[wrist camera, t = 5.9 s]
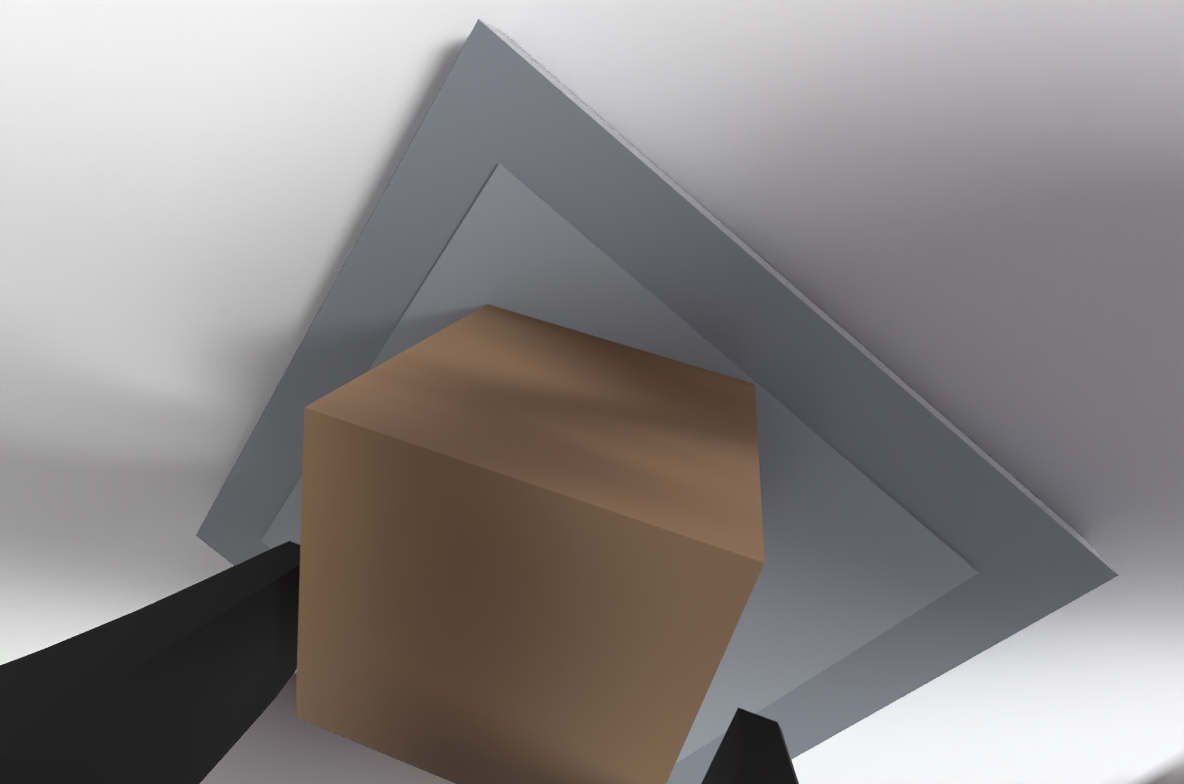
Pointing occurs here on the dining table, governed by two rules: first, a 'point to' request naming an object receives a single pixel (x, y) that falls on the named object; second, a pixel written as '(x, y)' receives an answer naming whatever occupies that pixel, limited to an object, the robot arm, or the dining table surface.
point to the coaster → (706, 340)
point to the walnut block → (524, 553)
